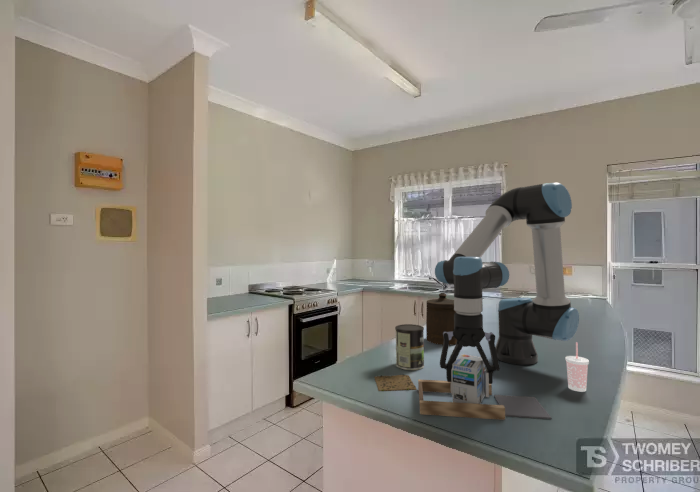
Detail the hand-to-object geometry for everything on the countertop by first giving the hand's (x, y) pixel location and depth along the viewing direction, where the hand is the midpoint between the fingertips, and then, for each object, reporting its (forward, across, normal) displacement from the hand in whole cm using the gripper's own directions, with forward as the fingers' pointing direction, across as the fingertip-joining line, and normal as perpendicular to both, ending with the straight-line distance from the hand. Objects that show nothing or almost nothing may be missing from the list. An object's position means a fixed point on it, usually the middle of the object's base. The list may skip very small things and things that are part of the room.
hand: (469, 394), depth 97 cm
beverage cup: (+3, -34, -15) cm, 37 cm away
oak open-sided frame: (+3, +3, 0) cm, 4 cm away
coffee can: (+3, +16, -29) cm, 33 cm away
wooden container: (+3, +2, -64) cm, 64 cm away
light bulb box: (+2, 0, 0) cm, 2 cm away
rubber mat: (+3, -13, 0) cm, 14 cm away
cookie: (+3, +21, -12) cm, 25 cm away
